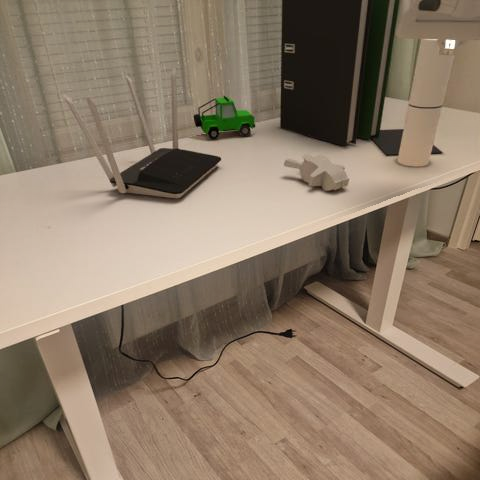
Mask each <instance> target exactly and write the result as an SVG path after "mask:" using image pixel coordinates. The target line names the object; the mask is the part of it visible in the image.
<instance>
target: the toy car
mask: <svg viewBox="0 0 480 480" xmlns="http://www.w3.org/2000/svg"><path fill="white" fill-rule="evenodd" d="M214 101H215V103H214V105H212V106H211V107H209V108H207V109H205V110H204V111H202V112H201V110H200V109H201V108H204V107H205V106H207V105H208V104H210V103H212V102H214ZM214 108H215V114H207V115H204V114H205V113H207V112H208V111H210V110H212V109H214ZM197 110H198V113H197V114H193V122H194V125H195V128H200V129H201V130H202V132H203V134H207V136H208V138H209V139H210V140H212V141H216V140H217V139H219V137H220V134H221V133H223V132H232V131H233V132H234V131H237V132H238V133H239V135H240V136H241V137H245V138H246V137H248V136H250V134H251V130H254V129H255V128H256V123H255V116H254V115H253V114H252V113H250V111H248V110H247V109H240V110H239V109H237V108H236V105H235V102H234V100H232V99H231V98H230V97H229V96H226V95H223V96H222V97H216V98H213V99H211V100H209V101H207V102H206V103H204V104H203V105H201V106H198V108H197Z"/></svg>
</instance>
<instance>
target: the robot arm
mask: <svg viewBox="0 0 480 480" xmlns="http://www.w3.org/2000/svg"><path fill="white" fill-rule="evenodd" d="M394 35H395V36H396V37H397V38H398V39H400V40H405V39H406V40H421V39H437V43H438V45H439V47H440V48H439V55H455V56H456V55H457V52H458V51H459V50H460V49H461V48H462V47H464V46H465V45H467V44H468V42H469V41H480V0H402V1H401V4H400V6H399V9H398V15H397V21H396V28H395V34H394Z"/></svg>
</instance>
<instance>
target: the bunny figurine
mask: <svg viewBox="0 0 480 480" xmlns="http://www.w3.org/2000/svg"><path fill="white" fill-rule="evenodd" d="M301 157H302V159H303V162H301V161H299V160H297V159H293V158H285V160H284V162H283V166H284V167H285V168H290V169H297V170H298V171H299V173H300V177H301V180H303V181H304V182H306V183H307V184H308V186H309V187H322V188H321V189H322V190H323V191H324V192H330V191H333V190H334V191H336V190H338V189H341V188H345V187H347V186H349V182H350V178H349V177H348V175H347V173H346V171H345V166H344V165H342V164H336V163H333V162H332V161H331V159H330V158H329V157H327V156H325V155H321V154H320V155H319V154H318V155H314V156H313V155H312V154H311V153H303V154H302V156H301Z"/></svg>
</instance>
